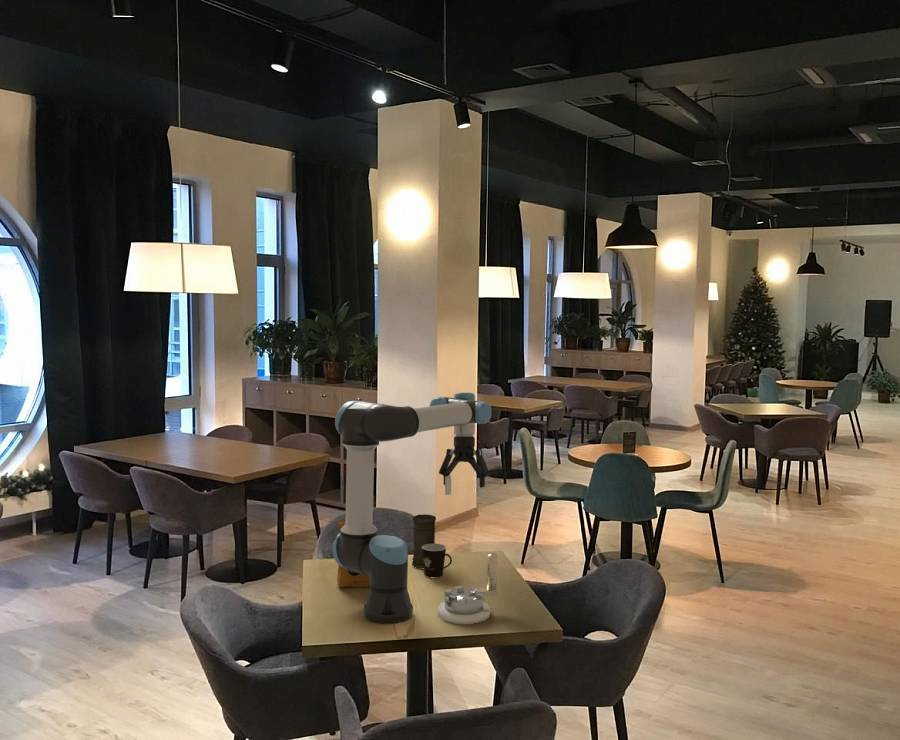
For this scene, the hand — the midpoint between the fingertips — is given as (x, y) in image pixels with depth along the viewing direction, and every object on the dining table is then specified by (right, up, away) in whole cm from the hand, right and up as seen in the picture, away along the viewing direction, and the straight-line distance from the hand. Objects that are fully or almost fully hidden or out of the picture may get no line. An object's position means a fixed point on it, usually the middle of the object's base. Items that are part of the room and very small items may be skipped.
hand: (463, 495), depth 292 cm
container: (-14, -27, +8) cm, 32 cm away
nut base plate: (-1, -31, -38) cm, 49 cm away
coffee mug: (-10, -28, -4) cm, 30 cm away
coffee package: (-37, -29, -13) cm, 49 cm away
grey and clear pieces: (+2, -28, -38) cm, 47 cm away
